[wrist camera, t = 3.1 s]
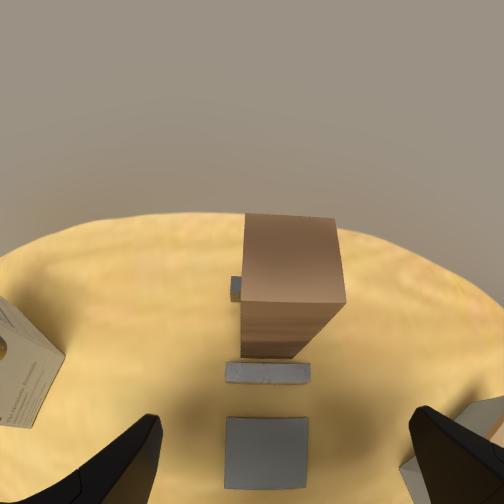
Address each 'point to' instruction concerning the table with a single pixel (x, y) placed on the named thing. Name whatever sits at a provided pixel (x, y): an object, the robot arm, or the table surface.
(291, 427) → the pad
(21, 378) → the supplement box
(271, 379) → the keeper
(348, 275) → the table surface
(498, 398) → the toolbox
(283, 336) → the brown block
